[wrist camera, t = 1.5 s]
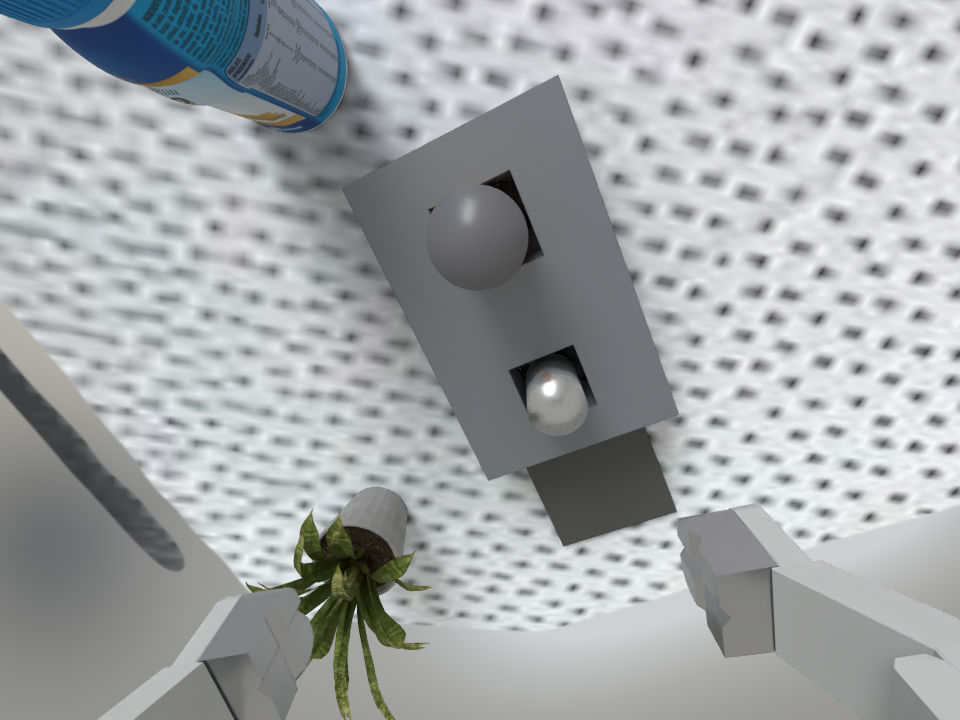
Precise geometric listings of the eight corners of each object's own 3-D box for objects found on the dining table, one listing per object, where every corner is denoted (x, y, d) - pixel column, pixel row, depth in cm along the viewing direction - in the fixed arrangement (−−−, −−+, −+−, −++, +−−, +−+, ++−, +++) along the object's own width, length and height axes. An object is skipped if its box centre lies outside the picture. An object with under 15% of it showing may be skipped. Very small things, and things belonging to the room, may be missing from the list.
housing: (367, 191, 32) (341, 188, 28) (551, 96, 30) (558, 74, 25) (492, 447, 38) (488, 480, 33) (657, 387, 35) (679, 414, 30)
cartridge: (508, 182, 32) (503, 165, 20) (535, 247, 33) (544, 266, 21) (446, 212, 32) (408, 212, 21) (474, 274, 34) (452, 306, 22)
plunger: (518, 364, 32) (517, 393, 27) (565, 345, 32) (575, 372, 26) (537, 407, 33) (540, 444, 28) (584, 390, 33) (596, 424, 27)
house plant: (503, 507, 40) (494, 696, 24) (417, 601, 44) (361, 815, 28) (367, 415, 38) (263, 555, 23) (290, 522, 42) (157, 703, 27)
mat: (636, 407, 36) (638, 409, 35) (674, 508, 38) (676, 511, 38) (518, 449, 38) (519, 452, 37) (562, 542, 40) (563, 546, 40)
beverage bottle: (376, 95, 30) (142, -96, 12) (277, 160, 32) (-64, 89, 13) (305, -39, 28) (-119, -535, 10) (204, 39, 30) (-321, -247, 11)
